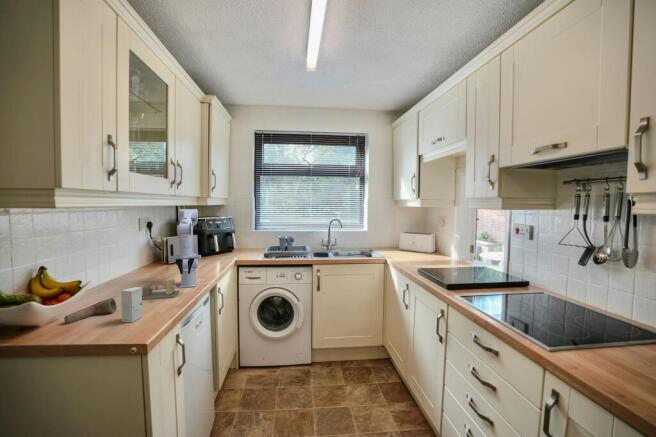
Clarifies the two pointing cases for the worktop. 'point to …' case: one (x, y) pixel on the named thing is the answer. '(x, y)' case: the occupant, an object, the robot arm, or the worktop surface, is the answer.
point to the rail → (157, 295)
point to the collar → (170, 286)
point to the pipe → (92, 310)
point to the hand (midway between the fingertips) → (185, 273)
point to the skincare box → (131, 304)
